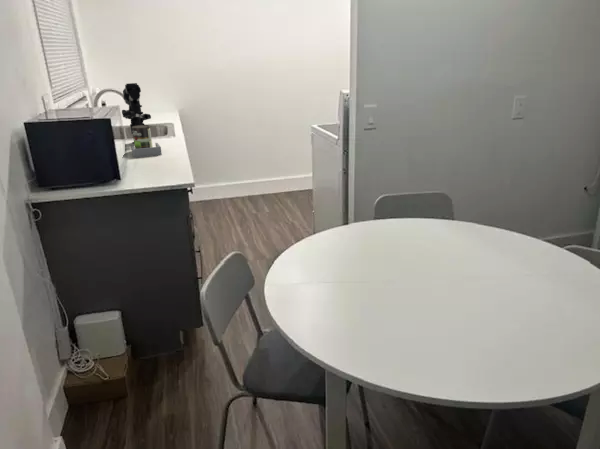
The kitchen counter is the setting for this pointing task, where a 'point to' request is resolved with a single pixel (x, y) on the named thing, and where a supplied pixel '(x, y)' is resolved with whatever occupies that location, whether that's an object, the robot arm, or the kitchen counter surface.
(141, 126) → the coffee can
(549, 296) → the kitchen counter surface
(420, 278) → the kitchen counter surface
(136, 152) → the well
